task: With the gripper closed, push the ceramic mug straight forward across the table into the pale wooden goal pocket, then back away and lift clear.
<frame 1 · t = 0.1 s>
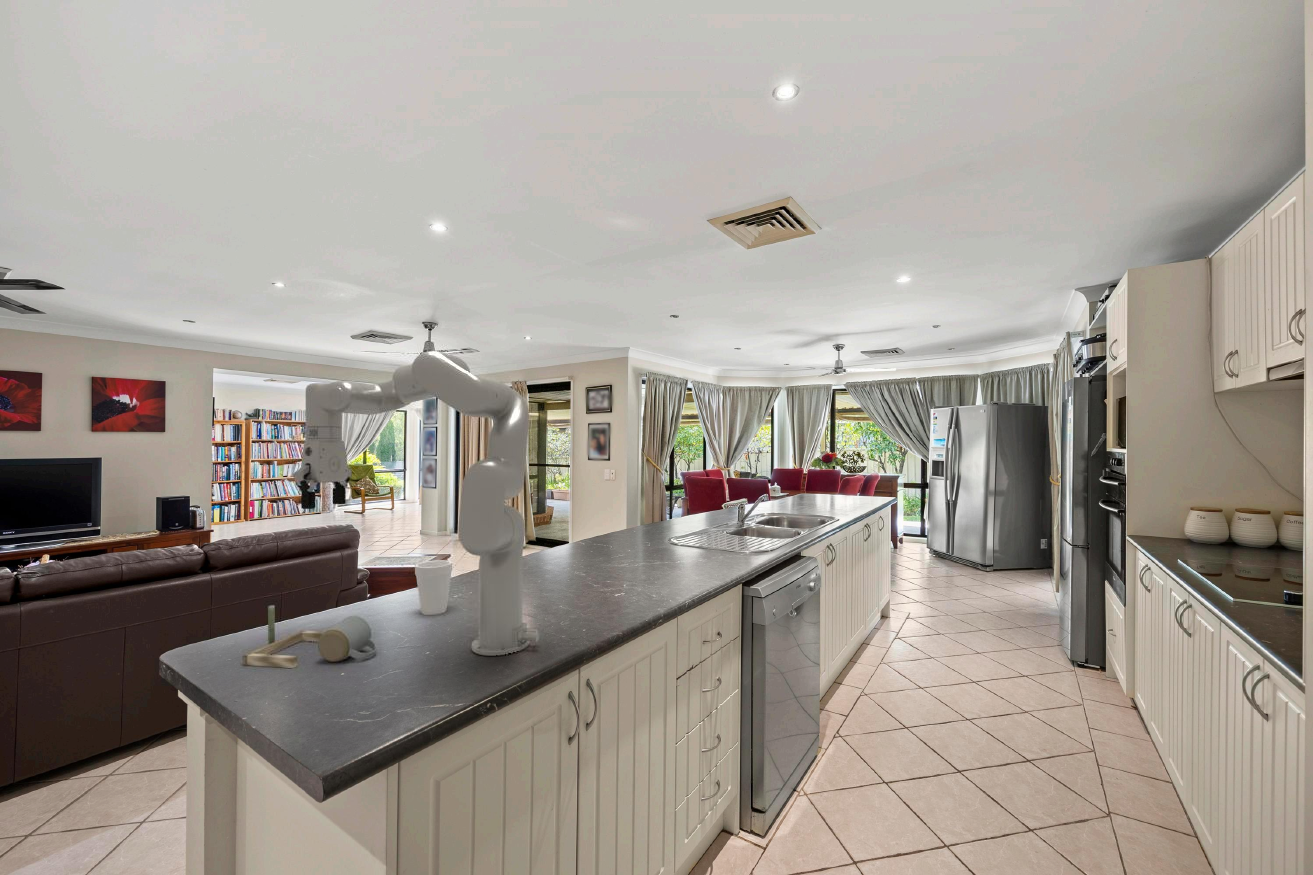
hand: (324, 506, 132), 31 cm above the countertop, tool pointing down, fingers open, 9 cm apart
ceramic mug: (351, 657, 120), on the countertop
foam cup: (434, 612, 151), on the countertop
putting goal: (298, 652, 122), on the countertop
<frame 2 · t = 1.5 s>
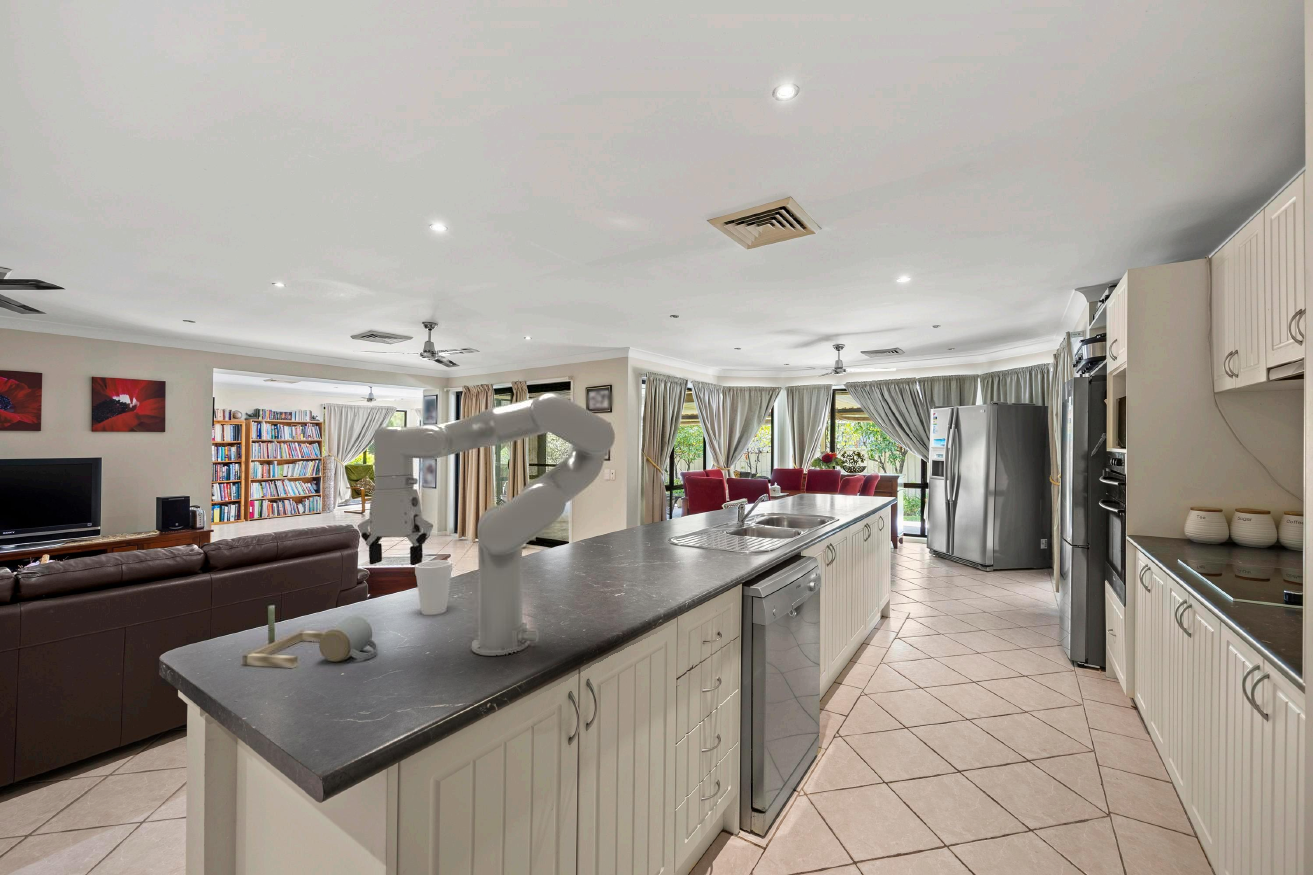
hand: (395, 563, 118), 20 cm above the countertop, tool pointing down, fingers open, 9 cm apart
nothing on the countertop moved.
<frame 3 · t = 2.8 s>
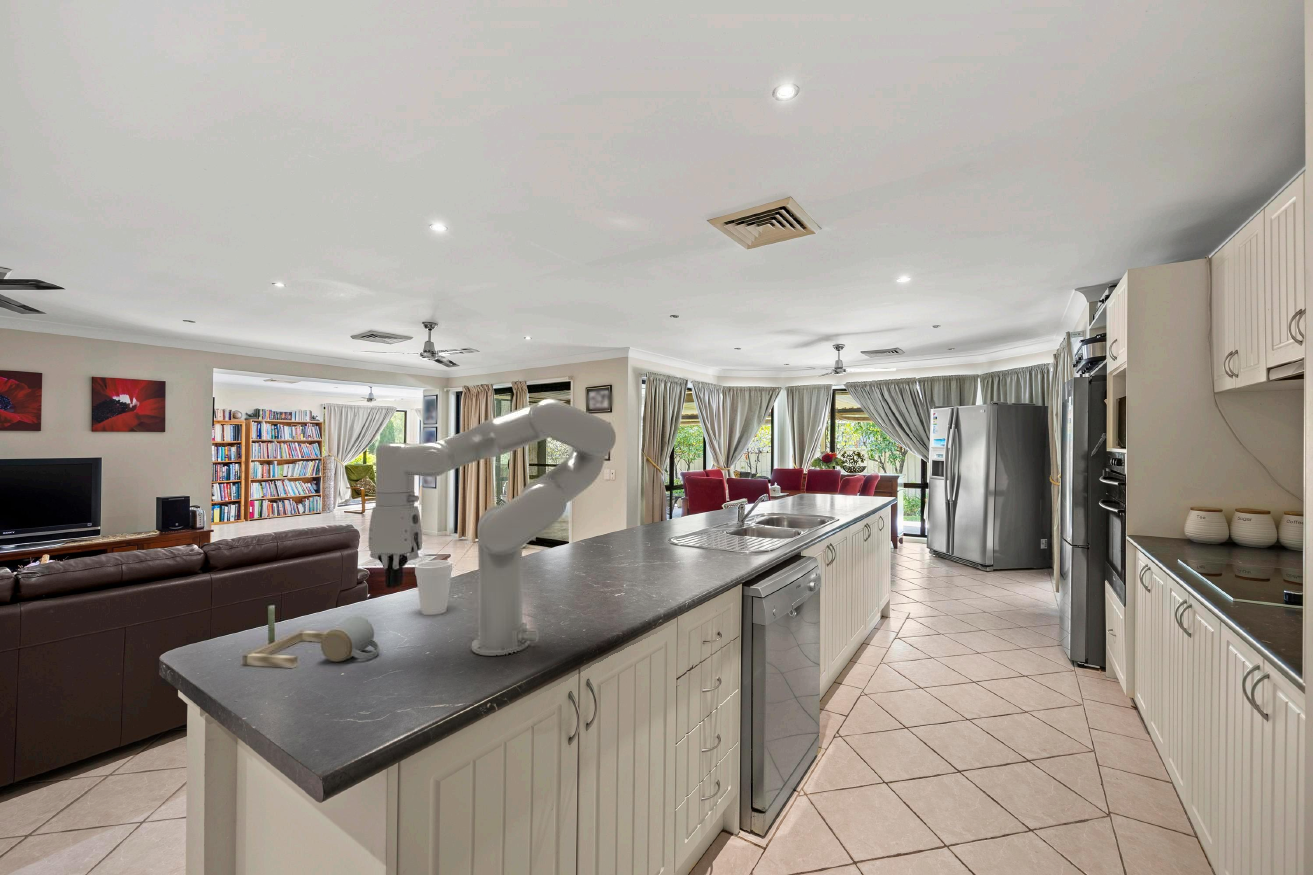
hand: (393, 586, 118), 15 cm above the countertop, tool pointing down, fingers closed
nothing on the countertop moved.
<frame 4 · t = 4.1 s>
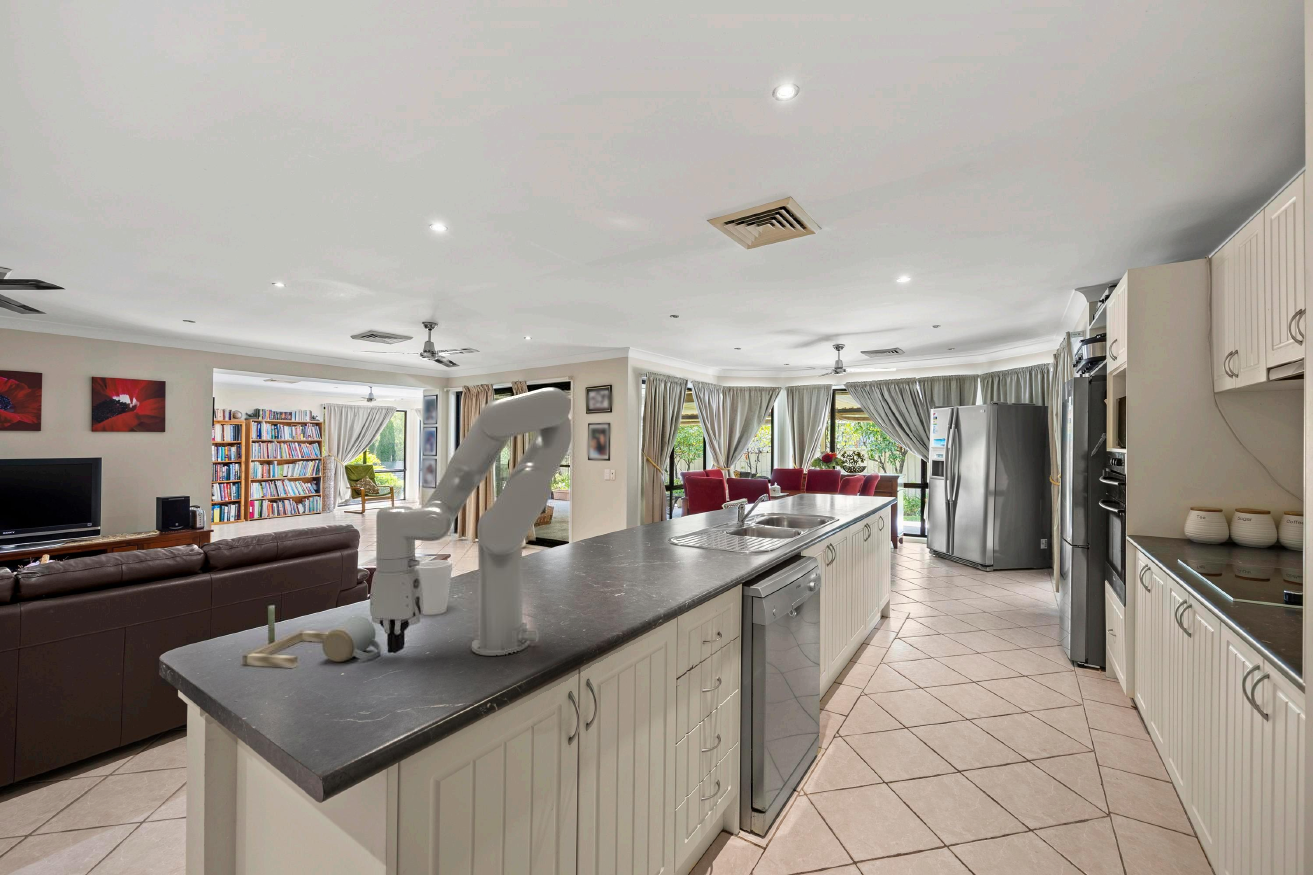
hand: (395, 650, 118), 2 cm above the countertop, tool pointing down, fingers closed
nothing on the countertop moved.
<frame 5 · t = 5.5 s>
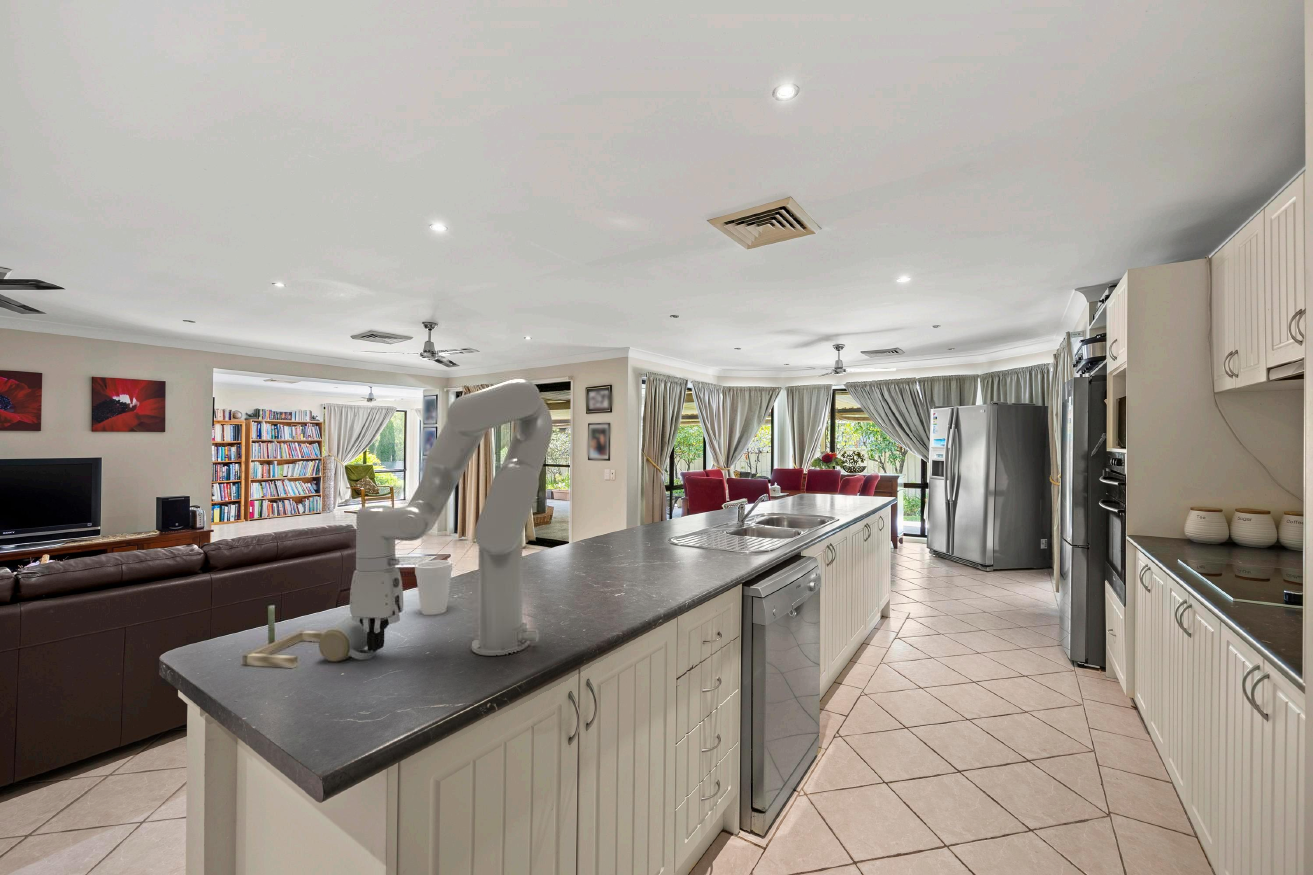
hand: (375, 648, 119), 2 cm above the countertop, tool pointing down, fingers closed
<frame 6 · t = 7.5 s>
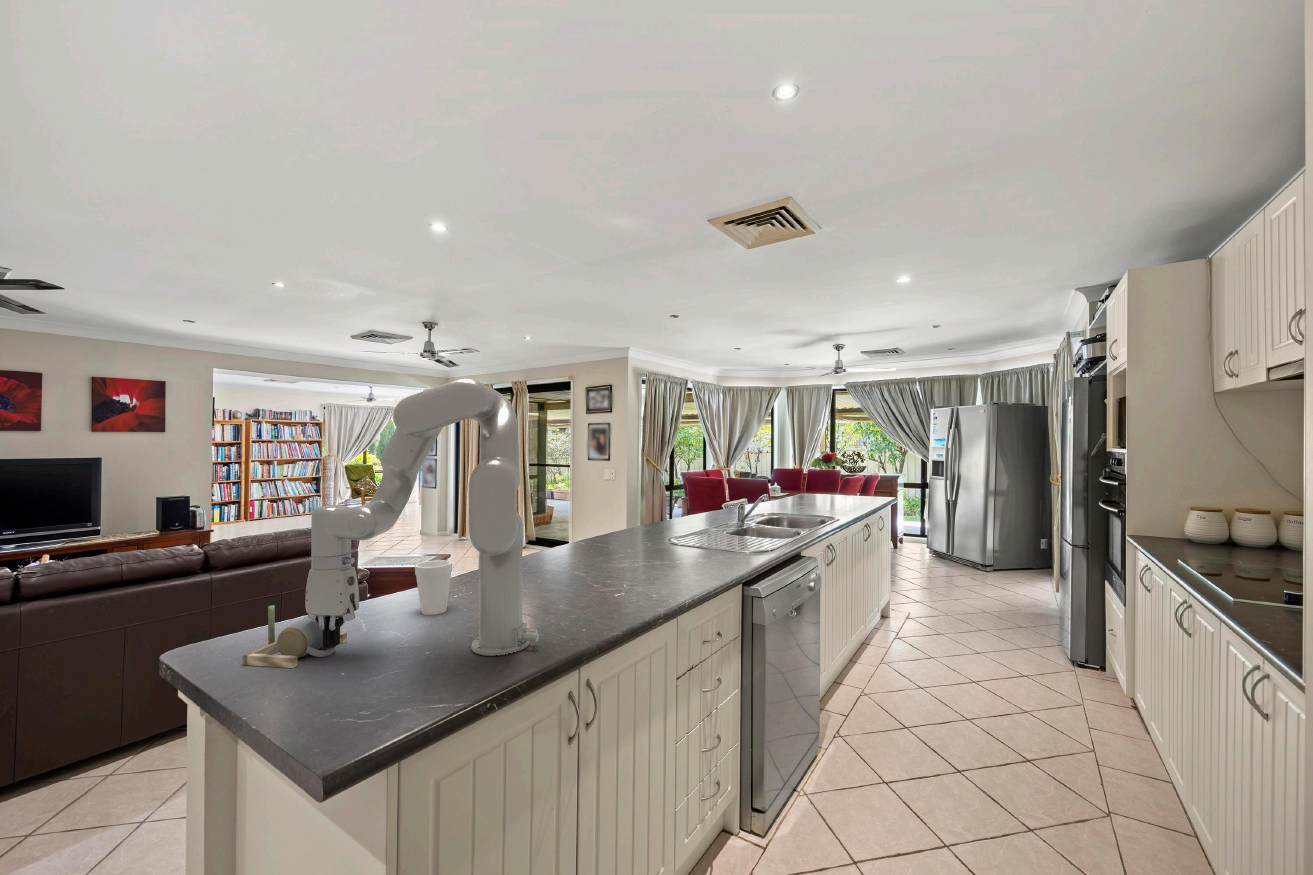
hand: (331, 646, 120), 2 cm above the countertop, tool pointing down, fingers closed
ceramic mug: (310, 654, 122), on the countertop, touching gripper
everything else where it was.
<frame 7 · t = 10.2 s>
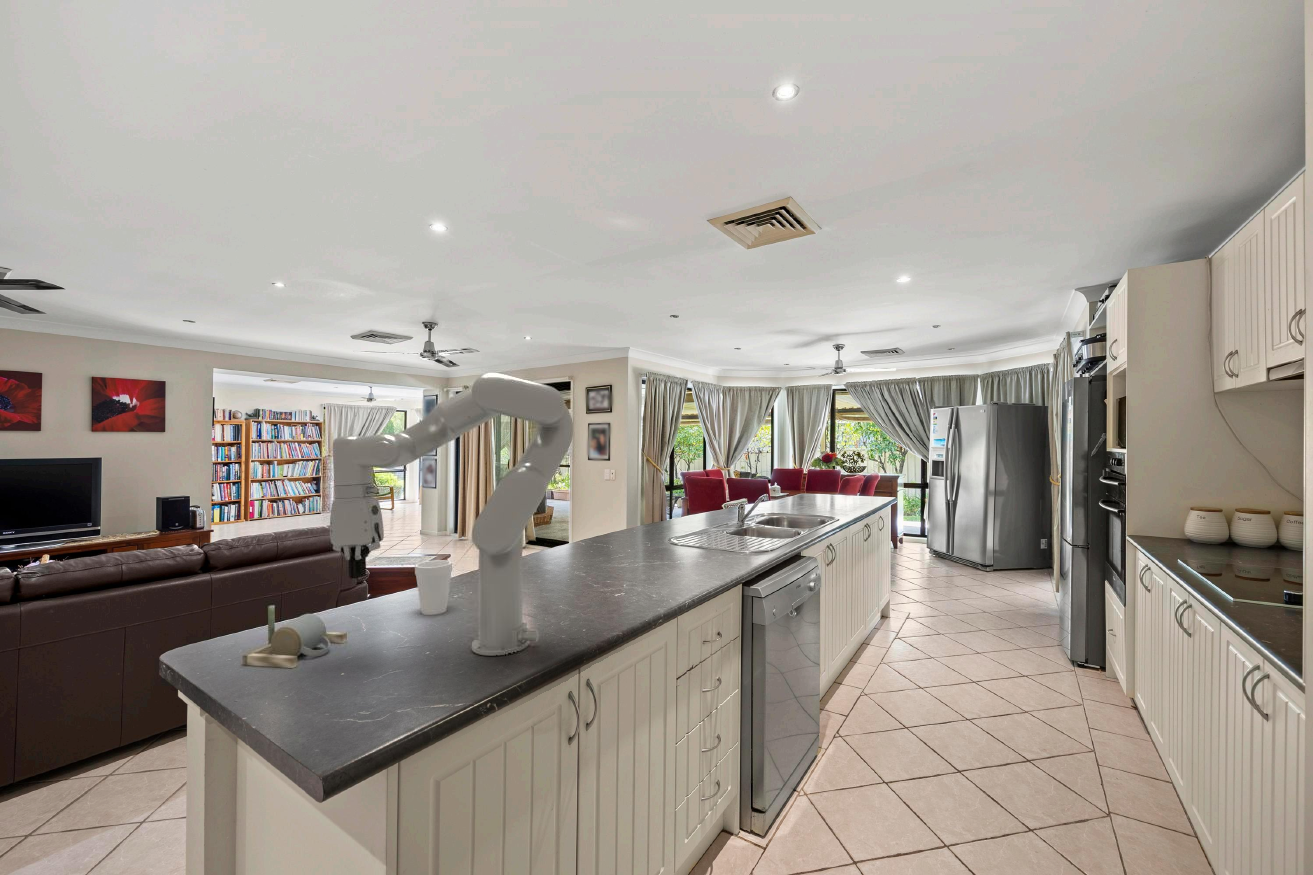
hand: (357, 576, 120), 17 cm above the countertop, tool pointing down, fingers closed
ceramic mug: (304, 654, 122), on the countertop
everything else where it was.
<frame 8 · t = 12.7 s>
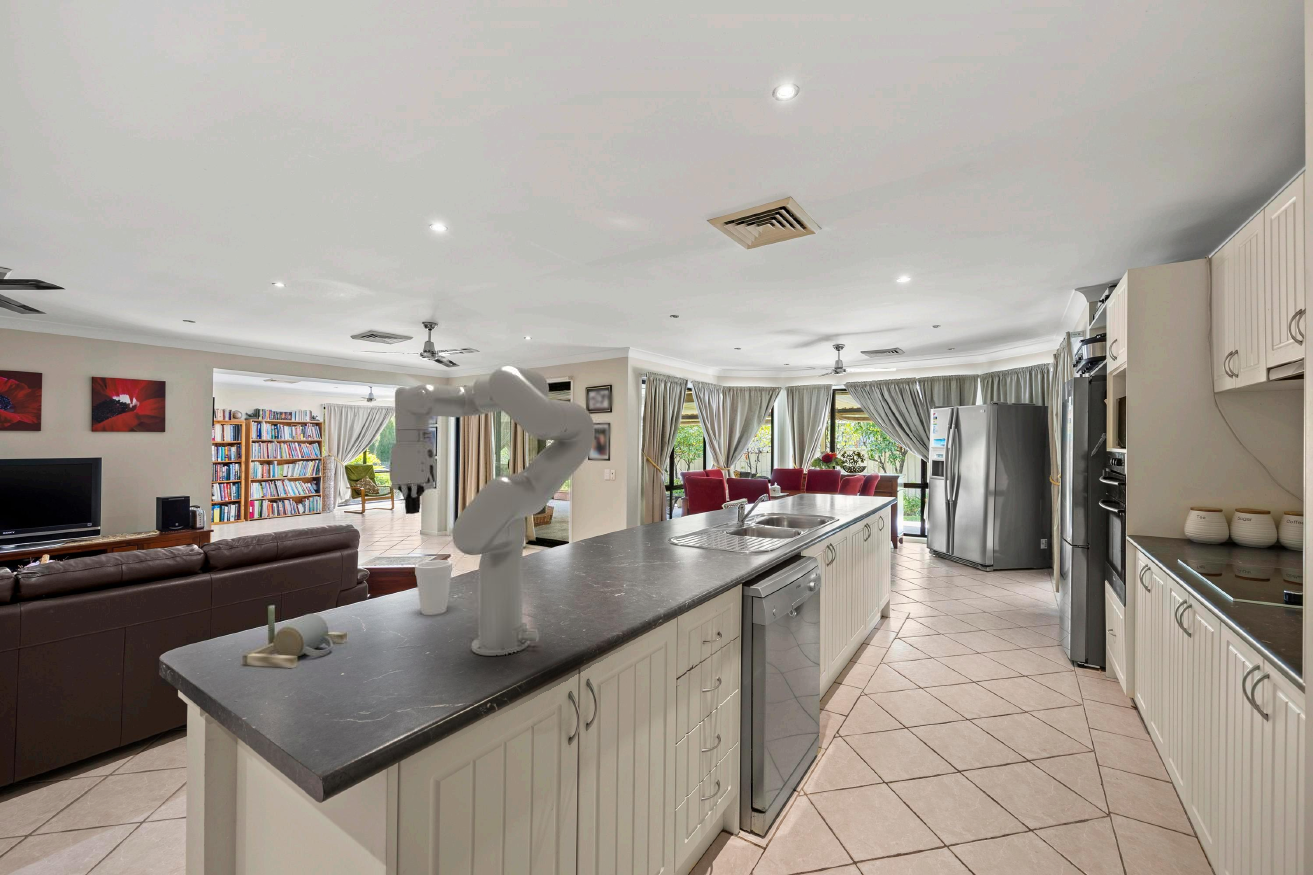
hand: (412, 513, 134), 29 cm above the countertop, tool pointing down, fingers closed
nothing on the countertop moved.
at the end: ceramic mug inside the target area (1.6 cm from its centre), on the countertop; ceramic mug tilted 1°; the gripper is holding nothing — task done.
